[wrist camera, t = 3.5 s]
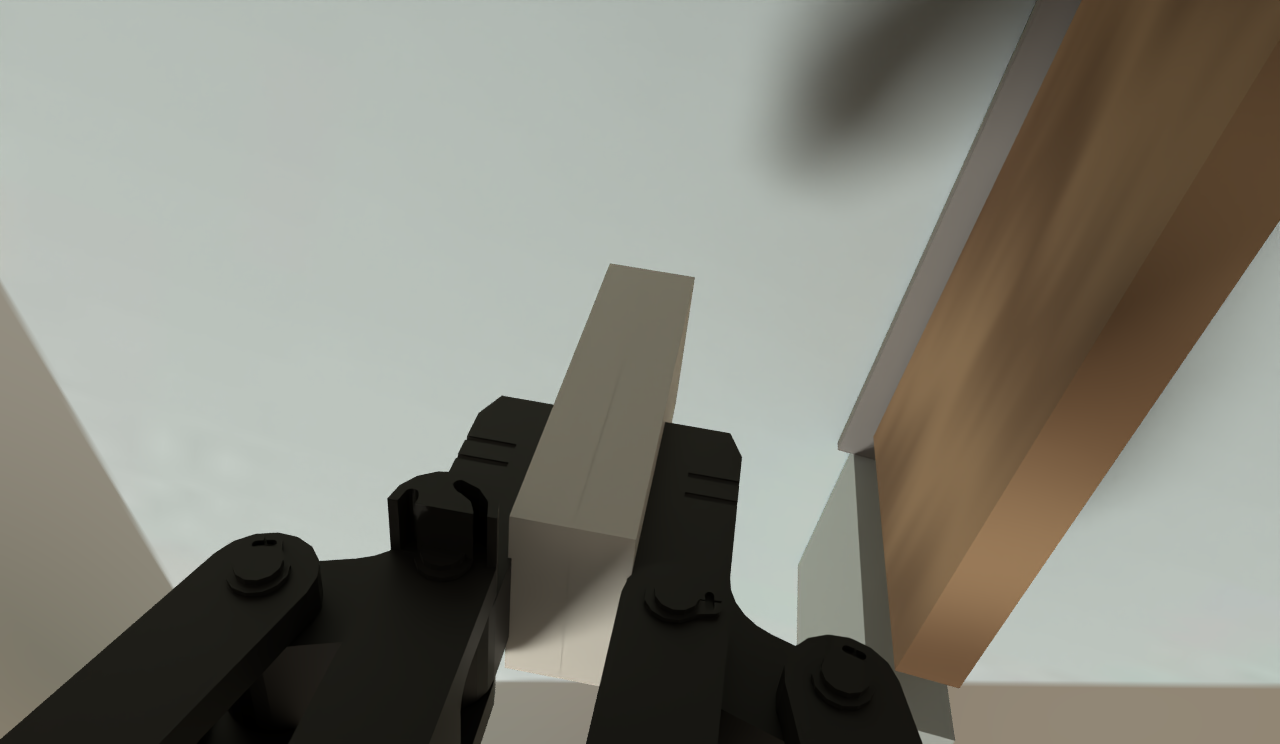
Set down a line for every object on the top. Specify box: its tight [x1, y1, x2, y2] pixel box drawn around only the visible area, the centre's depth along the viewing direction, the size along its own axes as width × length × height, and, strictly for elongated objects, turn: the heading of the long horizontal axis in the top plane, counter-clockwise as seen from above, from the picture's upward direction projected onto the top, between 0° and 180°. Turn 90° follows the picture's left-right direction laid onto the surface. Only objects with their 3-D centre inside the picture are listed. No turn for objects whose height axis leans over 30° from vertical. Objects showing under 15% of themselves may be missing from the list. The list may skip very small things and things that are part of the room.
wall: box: [797, 0, 1082, 744], centre depth 15 cm, size 26×2×8 cm, turn 167°
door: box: [873, 0, 1280, 688], centre depth 15 cm, size 14×2×8 cm, turn 167°
